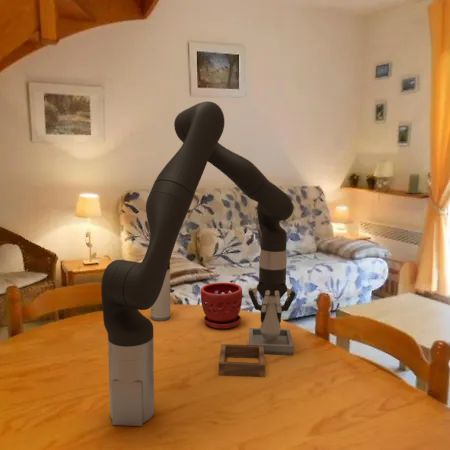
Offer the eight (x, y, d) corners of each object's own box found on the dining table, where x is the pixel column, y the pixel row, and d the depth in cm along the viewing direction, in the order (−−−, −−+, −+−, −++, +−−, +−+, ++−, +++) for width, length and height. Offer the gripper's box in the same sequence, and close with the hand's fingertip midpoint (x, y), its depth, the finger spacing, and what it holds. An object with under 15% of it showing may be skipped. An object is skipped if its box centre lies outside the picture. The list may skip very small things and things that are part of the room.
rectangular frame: (264, 376, 118) (264, 365, 117) (218, 374, 118) (218, 363, 118) (263, 355, 129) (263, 345, 128) (221, 354, 129) (221, 344, 129)
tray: (293, 354, 130) (293, 346, 129) (249, 353, 130) (249, 344, 130) (289, 337, 141) (289, 329, 141) (249, 335, 142) (249, 327, 142)
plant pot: (233, 314, 159) (234, 279, 157) (247, 329, 147) (248, 292, 145) (195, 318, 155) (196, 283, 153) (207, 333, 143) (207, 295, 141)
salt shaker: (279, 342, 132) (281, 298, 130) (258, 340, 133) (260, 296, 131) (281, 334, 138) (283, 291, 135) (261, 332, 139) (263, 290, 137)
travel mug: (148, 320, 152) (147, 260, 149) (154, 313, 159) (153, 255, 155) (166, 322, 151) (166, 261, 148) (172, 315, 158) (172, 256, 154)
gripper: (247, 267, 128) (245, 328, 131) (299, 269, 128) (296, 330, 131) (247, 261, 136) (246, 318, 139) (296, 262, 135) (294, 319, 138)
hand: (270, 323), depth 135 cm, fingers closed on salt shaker, 3 cm apart
